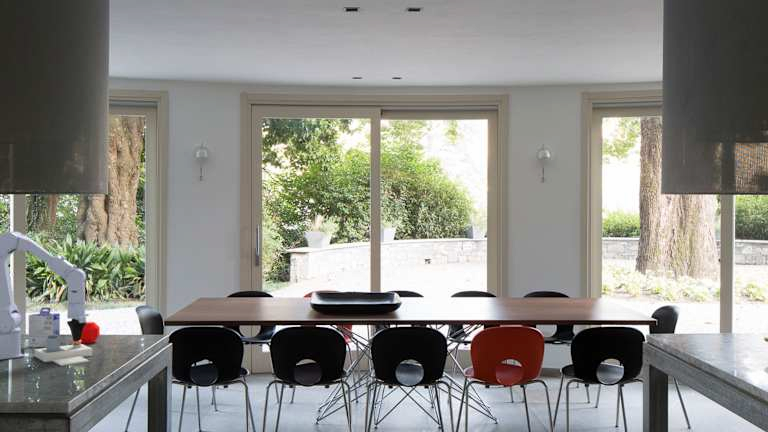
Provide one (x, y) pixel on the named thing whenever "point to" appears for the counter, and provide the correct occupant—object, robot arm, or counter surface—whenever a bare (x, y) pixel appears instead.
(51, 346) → the capped blue cylinder
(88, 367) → the counter surface
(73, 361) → the stone coaster
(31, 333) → the ink cartridge box
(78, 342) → the plunger
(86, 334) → the ball
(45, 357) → the white panel with holes
